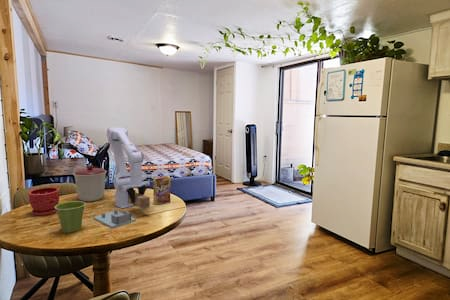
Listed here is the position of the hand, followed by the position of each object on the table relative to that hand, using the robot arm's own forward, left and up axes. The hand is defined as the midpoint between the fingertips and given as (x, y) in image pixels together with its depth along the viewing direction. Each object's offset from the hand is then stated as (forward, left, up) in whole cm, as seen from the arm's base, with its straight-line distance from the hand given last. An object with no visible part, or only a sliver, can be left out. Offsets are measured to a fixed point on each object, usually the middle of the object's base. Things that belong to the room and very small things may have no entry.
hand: (136, 201), depth 143 cm
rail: (+2, 0, -2) cm, 2 cm away
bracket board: (+1, -13, -6) cm, 14 cm away
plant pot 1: (-35, -31, -6) cm, 47 cm away
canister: (-41, -5, -6) cm, 42 cm away
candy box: (-3, +18, -6) cm, 19 cm away
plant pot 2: (-2, -31, -6) cm, 32 cm away
